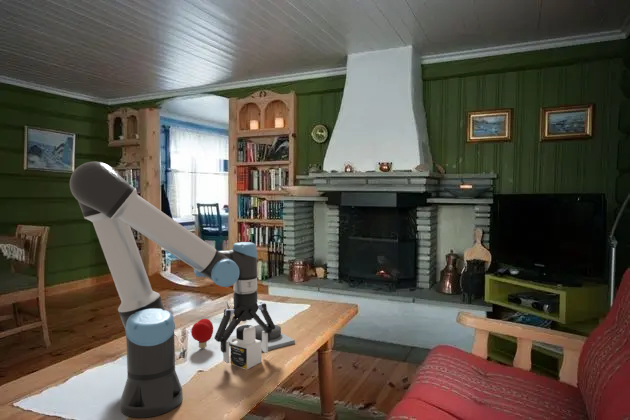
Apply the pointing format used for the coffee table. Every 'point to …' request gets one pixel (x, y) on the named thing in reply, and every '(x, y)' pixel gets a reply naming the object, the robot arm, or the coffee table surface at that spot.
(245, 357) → the medicine bottle
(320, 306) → the coffee table surface
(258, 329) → the stub
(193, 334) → the red toy tree
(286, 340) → the board
